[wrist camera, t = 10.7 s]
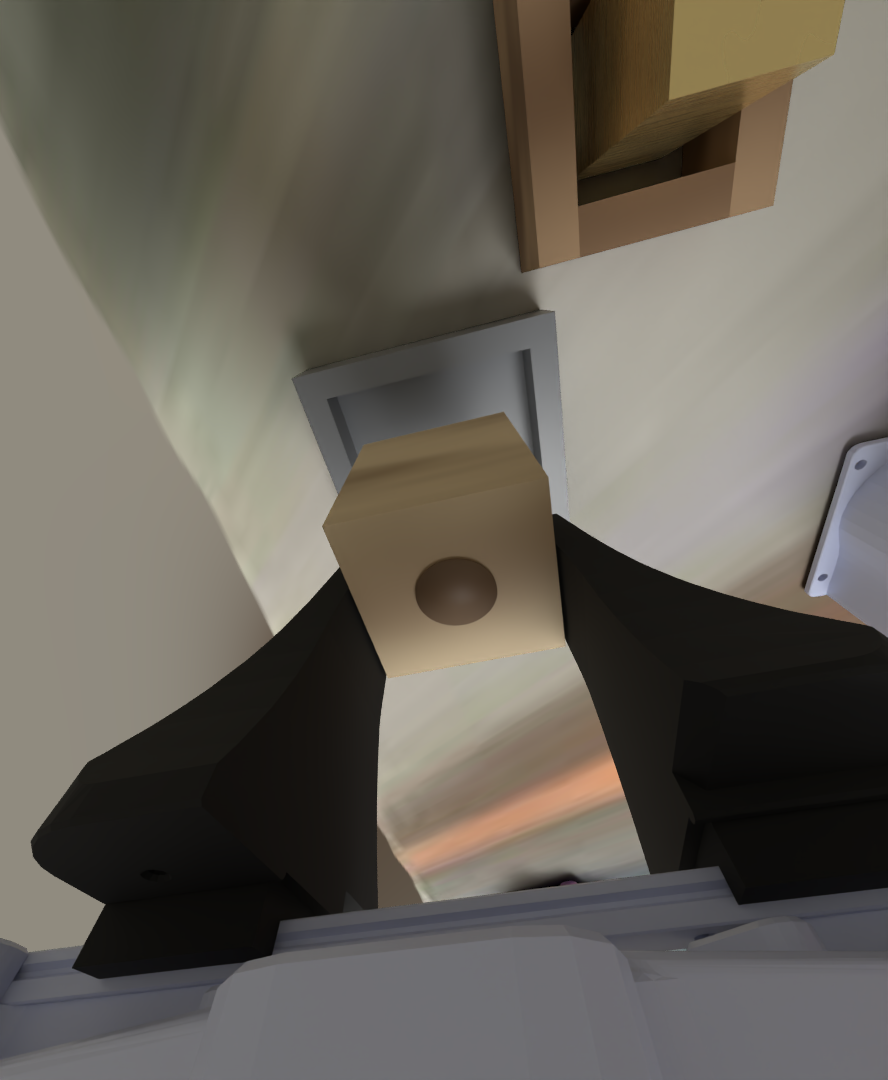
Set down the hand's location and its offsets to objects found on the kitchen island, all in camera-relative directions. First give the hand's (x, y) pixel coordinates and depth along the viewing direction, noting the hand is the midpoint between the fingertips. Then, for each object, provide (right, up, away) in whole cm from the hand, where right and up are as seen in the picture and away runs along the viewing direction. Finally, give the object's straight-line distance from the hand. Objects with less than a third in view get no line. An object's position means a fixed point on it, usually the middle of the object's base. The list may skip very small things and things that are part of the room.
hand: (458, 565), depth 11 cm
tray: (0, +5, +8) cm, 9 cm away
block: (0, +2, +2) cm, 3 cm away
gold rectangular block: (+5, +15, +2) cm, 16 cm away
